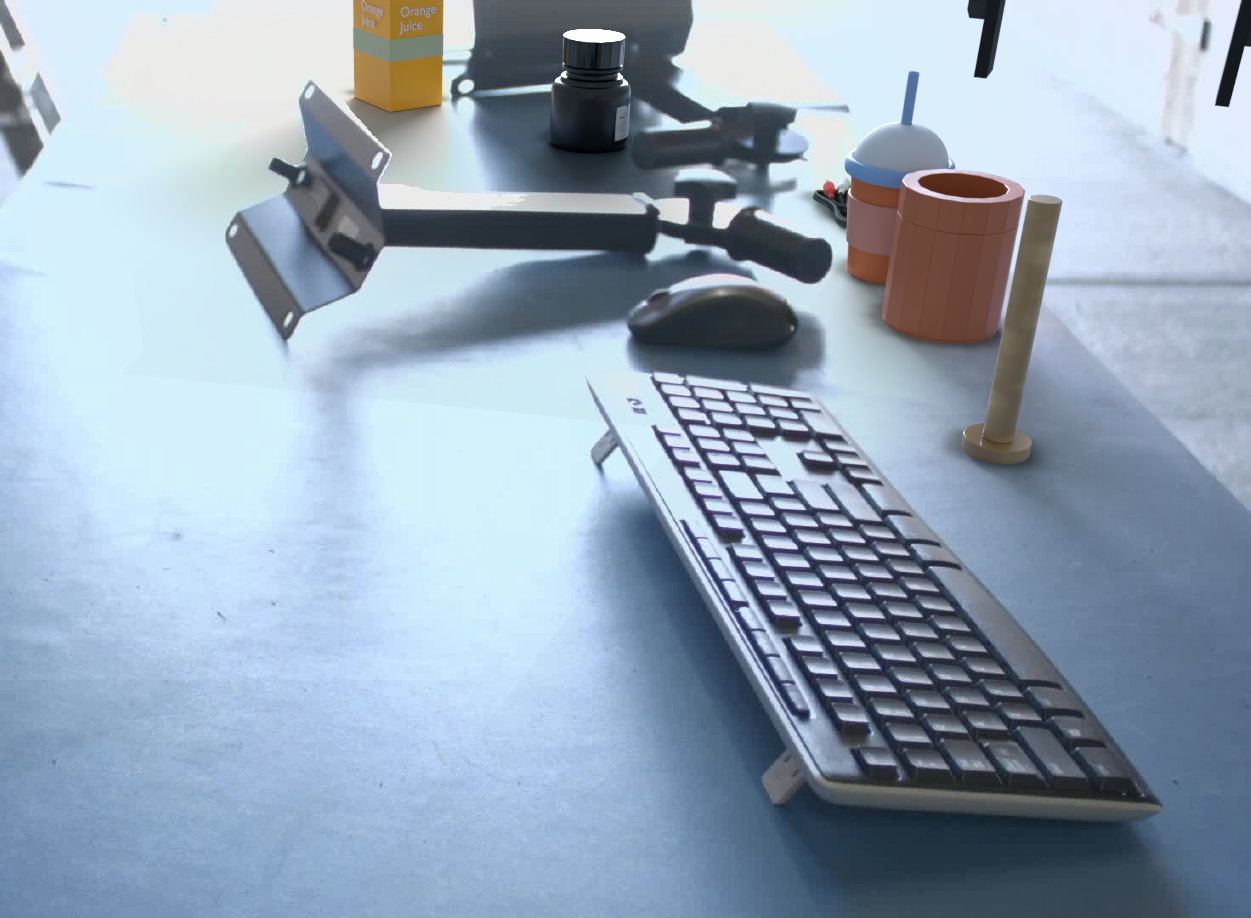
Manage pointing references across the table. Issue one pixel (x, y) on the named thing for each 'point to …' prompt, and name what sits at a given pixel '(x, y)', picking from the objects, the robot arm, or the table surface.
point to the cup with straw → (885, 185)
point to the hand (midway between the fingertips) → (1099, 87)
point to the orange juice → (398, 53)
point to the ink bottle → (590, 93)
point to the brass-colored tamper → (1017, 340)
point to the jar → (951, 255)
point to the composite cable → (835, 199)
